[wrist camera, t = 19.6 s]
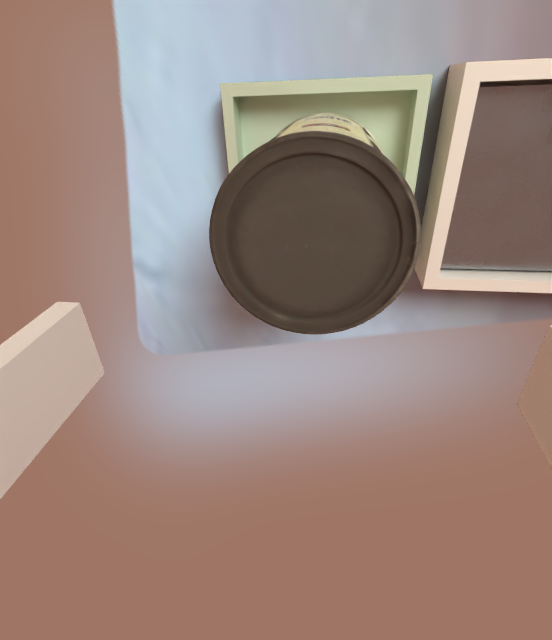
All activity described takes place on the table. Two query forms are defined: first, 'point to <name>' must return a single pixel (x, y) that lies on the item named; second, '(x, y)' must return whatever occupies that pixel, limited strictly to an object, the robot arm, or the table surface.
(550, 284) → the checker cradle
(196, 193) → the table surface
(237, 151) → the tray
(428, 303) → the table surface
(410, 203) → the coffee can
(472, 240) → the plate
